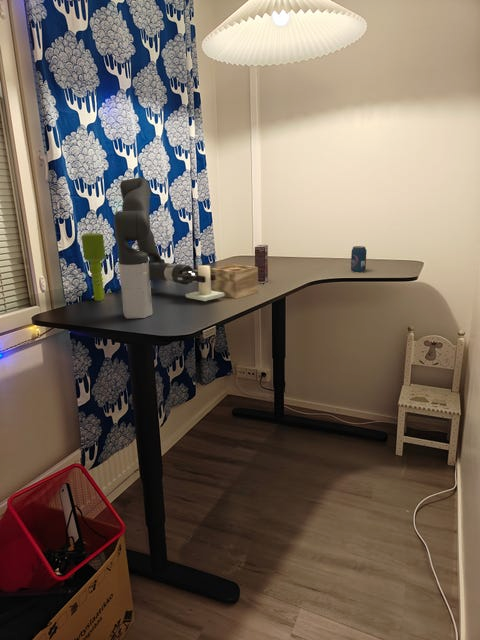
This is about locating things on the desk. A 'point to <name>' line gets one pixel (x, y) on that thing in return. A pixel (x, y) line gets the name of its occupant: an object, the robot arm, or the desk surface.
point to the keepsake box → (235, 280)
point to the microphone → (95, 260)
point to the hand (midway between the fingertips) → (209, 278)
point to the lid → (205, 287)
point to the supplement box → (262, 262)
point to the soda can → (358, 259)
